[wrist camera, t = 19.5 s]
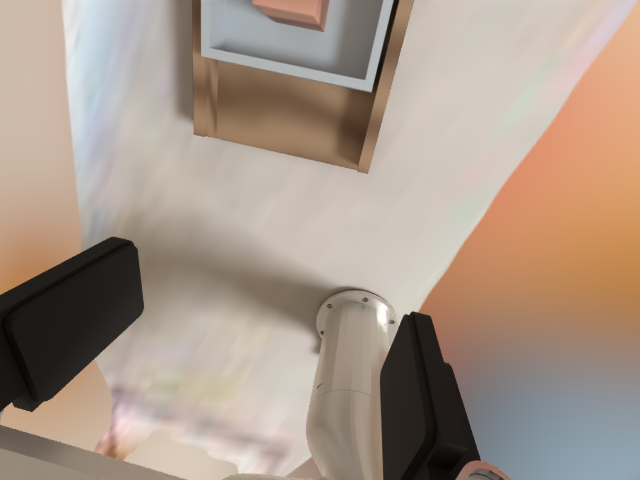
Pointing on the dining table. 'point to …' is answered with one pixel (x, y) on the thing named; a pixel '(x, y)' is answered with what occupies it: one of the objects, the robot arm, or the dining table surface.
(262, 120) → the bay
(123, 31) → the dining table surface
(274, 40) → the grey tray
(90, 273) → the robot arm
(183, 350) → the dining table surface
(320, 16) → the block
